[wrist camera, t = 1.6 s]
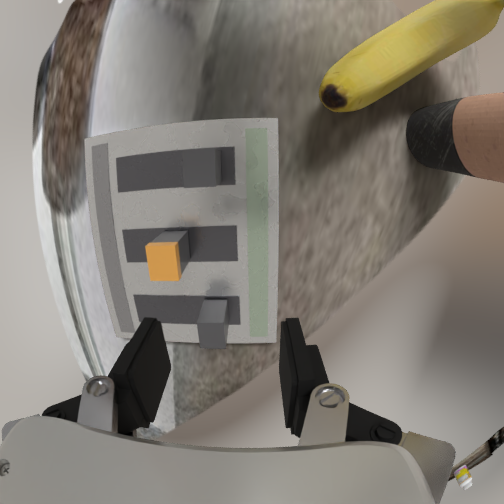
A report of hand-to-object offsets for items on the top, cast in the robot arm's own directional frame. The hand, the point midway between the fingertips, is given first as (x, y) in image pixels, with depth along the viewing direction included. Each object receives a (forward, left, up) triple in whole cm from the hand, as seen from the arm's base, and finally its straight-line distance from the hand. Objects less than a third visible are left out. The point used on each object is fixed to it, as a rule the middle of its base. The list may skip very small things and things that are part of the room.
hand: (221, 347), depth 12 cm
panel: (0, -6, -17) cm, 18 cm away
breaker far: (+7, -3, -16) cm, 18 cm away
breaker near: (-7, -3, -16) cm, 18 cm away
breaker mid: (0, -6, -16) cm, 17 cm away
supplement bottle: (+105, +92, -18) cm, 141 cm away
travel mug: (-12, +22, -18) cm, 31 cm away
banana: (-20, +16, -18) cm, 31 cm away
